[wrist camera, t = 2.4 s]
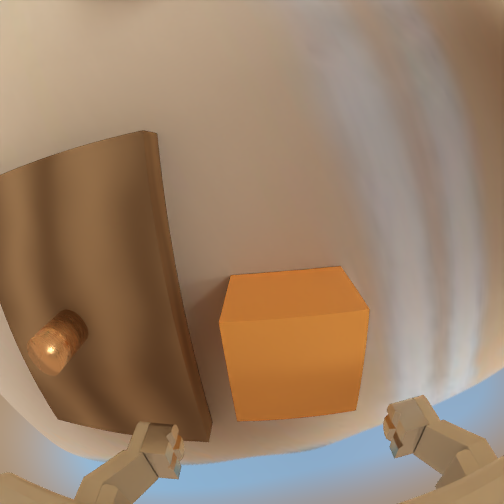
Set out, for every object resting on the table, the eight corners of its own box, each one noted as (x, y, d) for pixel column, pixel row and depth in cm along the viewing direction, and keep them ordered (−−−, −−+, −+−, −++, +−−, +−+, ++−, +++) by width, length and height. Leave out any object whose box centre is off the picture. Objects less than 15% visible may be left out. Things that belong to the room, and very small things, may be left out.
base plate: (157, 133, 14) (142, 130, 12) (212, 422, 20) (208, 441, 18) (-9, 183, 15) (-27, 187, 13) (66, 405, 21) (57, 419, 19)
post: (80, 309, 15) (49, 340, 12) (93, 344, 16) (66, 378, 13) (52, 309, 15) (20, 337, 12) (65, 341, 16) (37, 373, 13)
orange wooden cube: (340, 266, 16) (369, 309, 11) (337, 354, 18) (355, 410, 13) (230, 275, 16) (218, 322, 12) (242, 362, 18) (237, 421, 13)
